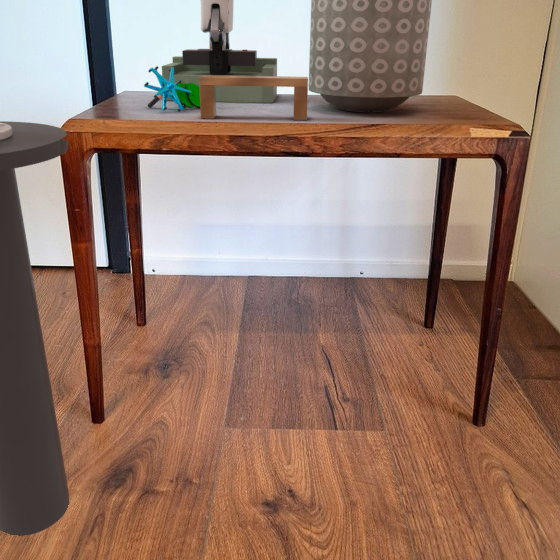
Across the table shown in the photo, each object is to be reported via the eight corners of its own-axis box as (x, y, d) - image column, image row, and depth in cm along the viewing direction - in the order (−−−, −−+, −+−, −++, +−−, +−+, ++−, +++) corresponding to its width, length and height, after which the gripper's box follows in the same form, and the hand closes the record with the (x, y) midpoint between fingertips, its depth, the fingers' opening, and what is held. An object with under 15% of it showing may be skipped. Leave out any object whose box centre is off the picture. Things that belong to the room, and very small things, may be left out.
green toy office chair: (157, 99, 91) (147, 55, 93) (132, 122, 96) (123, 79, 97) (216, 115, 100) (206, 74, 102) (191, 135, 104) (182, 96, 106)
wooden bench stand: (200, 118, 90) (199, 76, 87) (203, 115, 93) (202, 75, 90) (306, 120, 90) (308, 78, 87) (306, 117, 92) (307, 76, 90)
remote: (182, 64, 107) (182, 49, 106) (187, 63, 111) (186, 48, 110) (255, 66, 107) (255, 50, 106) (256, 64, 111) (256, 49, 110)
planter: (430, 118, 93) (445, -11, 86) (309, 116, 93) (313, -13, 86) (409, 103, 110) (419, -6, 103) (306, 101, 111) (310, -8, 103)
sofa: (272, 103, 108) (273, 61, 105) (163, 100, 108) (161, 59, 106) (276, 95, 118) (277, 58, 115) (177, 93, 119) (175, 56, 116)
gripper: (202, -35, 110) (206, 69, 117) (187, -44, 95) (193, 77, 102) (243, -34, 110) (244, 70, 117) (235, -43, 94) (236, 78, 102)
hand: (220, 72), depth 109 cm, fingers closed on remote, 5 cm apart
